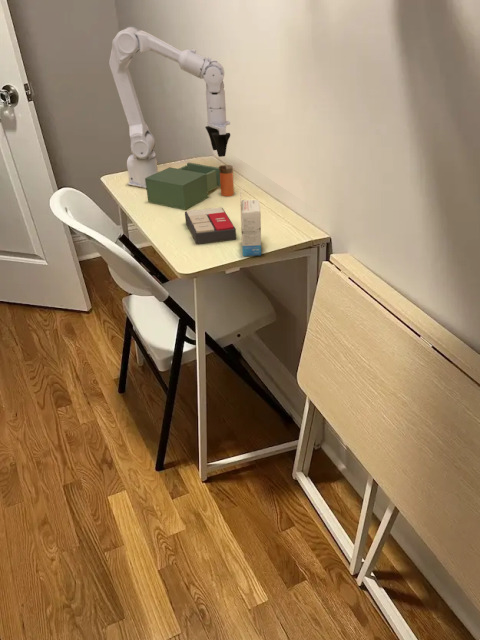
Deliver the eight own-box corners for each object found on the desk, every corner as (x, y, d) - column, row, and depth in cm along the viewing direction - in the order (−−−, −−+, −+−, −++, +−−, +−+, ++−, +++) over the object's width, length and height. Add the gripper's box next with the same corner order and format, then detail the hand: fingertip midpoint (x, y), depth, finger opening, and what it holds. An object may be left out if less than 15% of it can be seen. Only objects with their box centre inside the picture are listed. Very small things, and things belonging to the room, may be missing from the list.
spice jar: (217, 195, 181) (216, 167, 176) (225, 191, 184) (223, 164, 179) (229, 197, 179) (228, 169, 174) (236, 193, 182) (235, 166, 177)
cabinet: (172, 190, 184) (169, 167, 179) (208, 197, 179) (206, 173, 174) (148, 202, 175) (144, 178, 170) (185, 210, 170) (183, 185, 166)
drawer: (197, 176, 193) (195, 159, 189) (228, 182, 188) (228, 164, 185) (170, 189, 182) (167, 171, 178) (203, 196, 177) (201, 177, 174)
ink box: (261, 256, 145) (260, 199, 136) (242, 256, 144) (240, 199, 135) (260, 242, 152) (259, 187, 143) (241, 243, 151) (239, 187, 142)
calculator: (195, 231, 148) (184, 208, 159) (196, 246, 151) (185, 223, 161) (236, 226, 151) (222, 204, 161) (236, 241, 153) (223, 219, 164)
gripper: (234, 111, 170) (236, 158, 179) (223, 101, 181) (225, 146, 189) (211, 112, 168) (214, 160, 177) (201, 102, 179) (204, 147, 188)
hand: (218, 153), depth 183 cm, fingers open, 7 cm apart
